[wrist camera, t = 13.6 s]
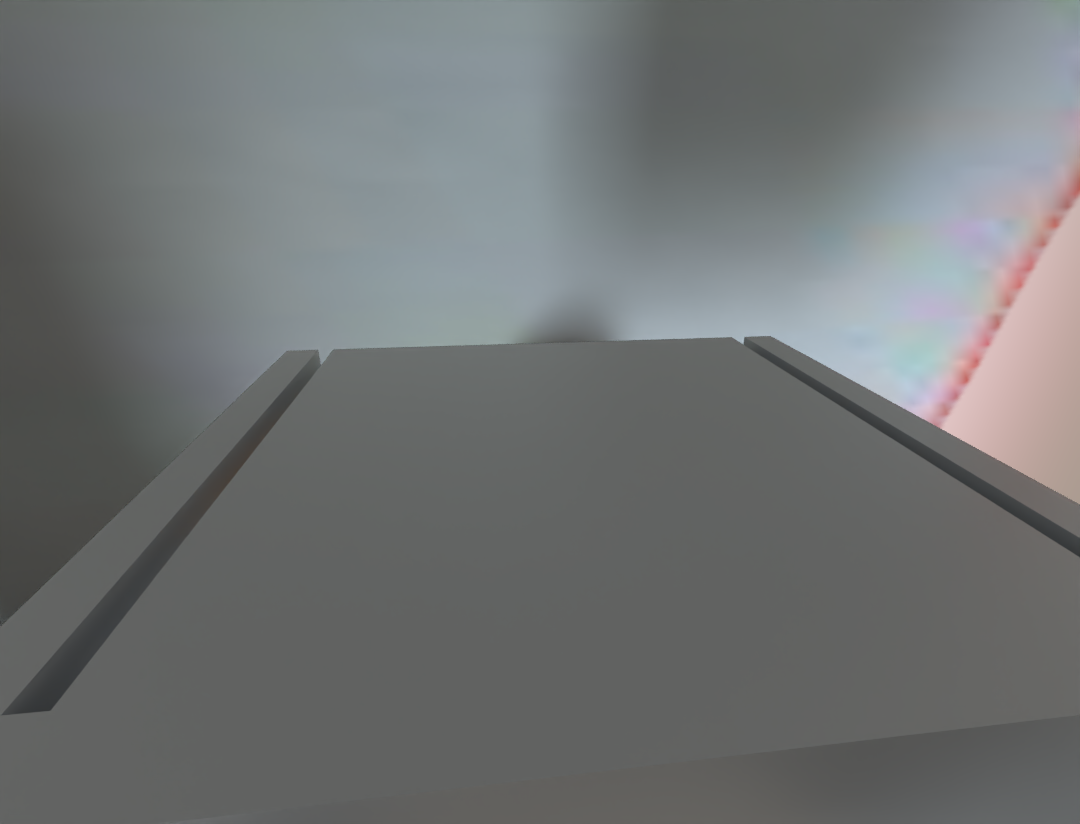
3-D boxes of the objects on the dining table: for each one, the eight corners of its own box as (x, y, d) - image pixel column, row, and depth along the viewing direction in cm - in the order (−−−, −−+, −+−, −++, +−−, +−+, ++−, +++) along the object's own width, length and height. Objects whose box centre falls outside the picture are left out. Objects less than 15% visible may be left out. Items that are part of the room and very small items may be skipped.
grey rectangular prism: (709, 669, 16) (948, 1166, 8) (356, 704, 15) (223, 1321, 7) (770, 336, 12) (1396, 677, 4) (287, 350, 11) (-255, 873, 3)
